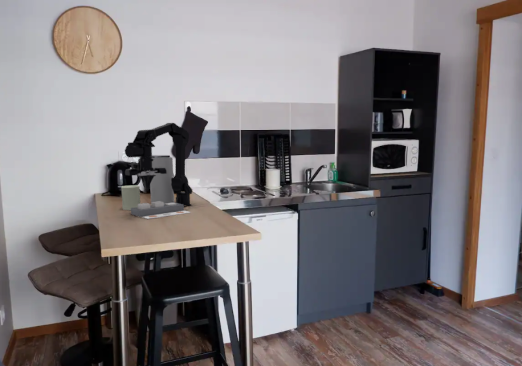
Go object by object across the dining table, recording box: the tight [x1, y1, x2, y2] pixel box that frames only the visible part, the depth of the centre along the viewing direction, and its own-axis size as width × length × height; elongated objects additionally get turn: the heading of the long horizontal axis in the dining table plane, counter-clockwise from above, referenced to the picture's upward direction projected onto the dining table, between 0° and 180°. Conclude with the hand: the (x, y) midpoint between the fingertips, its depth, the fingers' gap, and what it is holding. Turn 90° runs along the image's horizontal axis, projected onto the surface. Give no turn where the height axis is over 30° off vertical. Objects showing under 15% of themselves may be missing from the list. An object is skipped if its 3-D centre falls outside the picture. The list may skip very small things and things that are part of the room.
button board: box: [130, 201, 185, 218], centre depth 215 cm, size 23×10×3 cm, turn 129°
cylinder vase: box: [148, 156, 175, 204], centre depth 240 cm, size 12×12×25 cm
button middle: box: [150, 201, 164, 208], centre depth 214 cm, size 4×4×2 cm
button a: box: [138, 202, 151, 209], centre depth 210 cm, size 4×4×2 cm
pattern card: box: [142, 210, 191, 220], centre depth 207 cm, size 22×6×1 cm, turn 129°
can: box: [121, 184, 141, 211], centre depth 227 cm, size 9×9×12 cm
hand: (146, 189), depth 210 cm, fingers closed
